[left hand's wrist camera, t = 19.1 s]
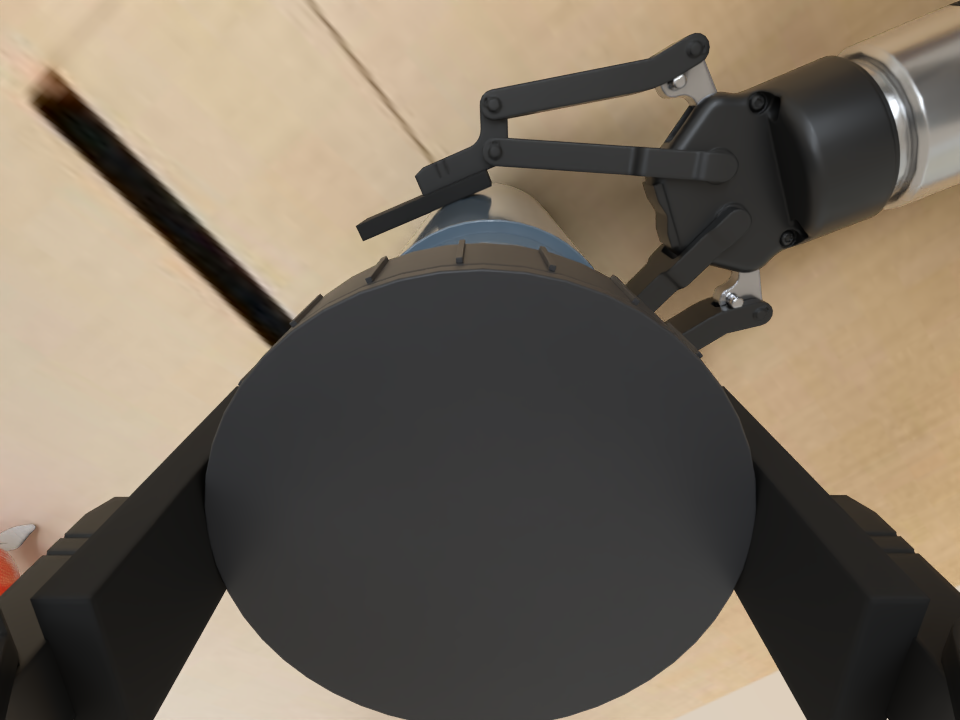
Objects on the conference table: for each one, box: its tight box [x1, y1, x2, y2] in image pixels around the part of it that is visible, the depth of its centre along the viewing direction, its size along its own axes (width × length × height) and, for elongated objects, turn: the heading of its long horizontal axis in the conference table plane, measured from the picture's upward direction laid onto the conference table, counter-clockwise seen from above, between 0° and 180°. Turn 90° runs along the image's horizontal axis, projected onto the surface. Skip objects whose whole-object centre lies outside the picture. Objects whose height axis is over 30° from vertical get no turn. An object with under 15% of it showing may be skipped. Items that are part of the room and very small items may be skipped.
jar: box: [398, 183, 594, 269], centre depth 26 cm, size 9×9×18 cm
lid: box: [204, 239, 756, 720], centre depth 11 cm, size 10×10×2 cm
